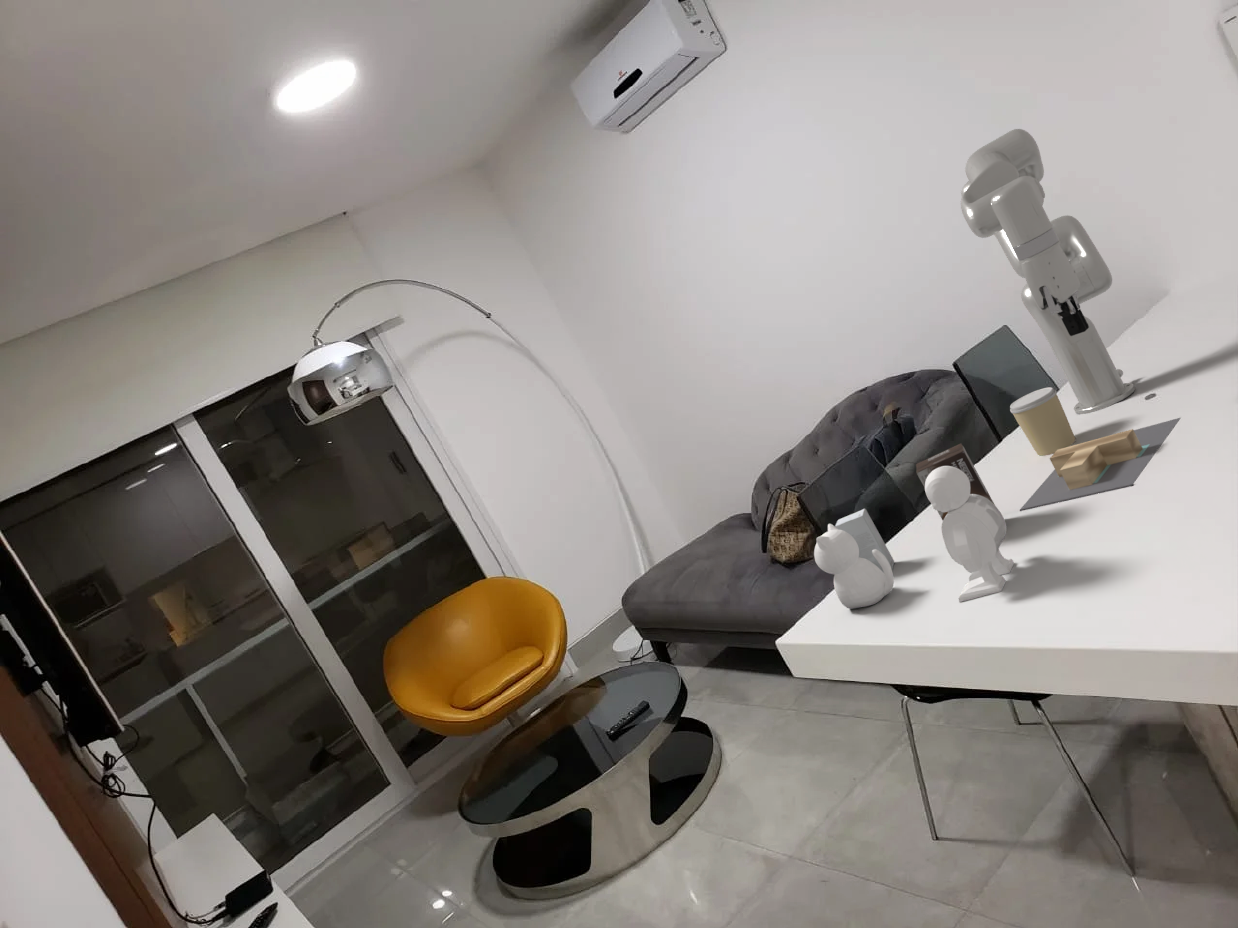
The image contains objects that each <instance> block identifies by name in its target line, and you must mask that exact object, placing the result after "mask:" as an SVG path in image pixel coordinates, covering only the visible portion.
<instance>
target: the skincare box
mask: <svg viewBox="0 0 1238 928" xmlns="http://www.w3.org/2000/svg"><path fill="white" fill-rule="evenodd" d="M834 526H835V527H836V528H837V529H838V530H843V531H845V532H847V533H849V534H850V535H851V536H852V537H853V538H854V539H855V541H856V543H857V545H858V547H859V557H860V558H865V559H867V560H869V561H870V562H872V563H873V564H875V565H876V566H877V567H878V568H879V569H880V570H881V571H882V572H883V573H884V571H883V569H882V567H881V565H880V564H879V562H878V561H877V560H876V558H875V557H874V556H873V554H872V550H874V549H876V550H878V551H880V552H881V553H882V554H883V555H884V556H885V557H886V559H887V560H888V562H889V564H890V566H891V569H892V570H893V569H894V564H895V560H894V558H893V556H892V554H891V552H890V551H889V549H888V547H887V545H886V543H885V541H884V540H883V538H882V536H881V534H880V533H879V530H878V529H877V526H876V525H875V524H874V522H873V520H872V518H871V516H870V515H869V512H868V510H867V509H866V508H863V509H861V510H858V511H856V512H854V513H850V514H849V515H847V516H844V517H842V518H839V519H838V520H837V521H836V523H835V525H834Z"/></svg>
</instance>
